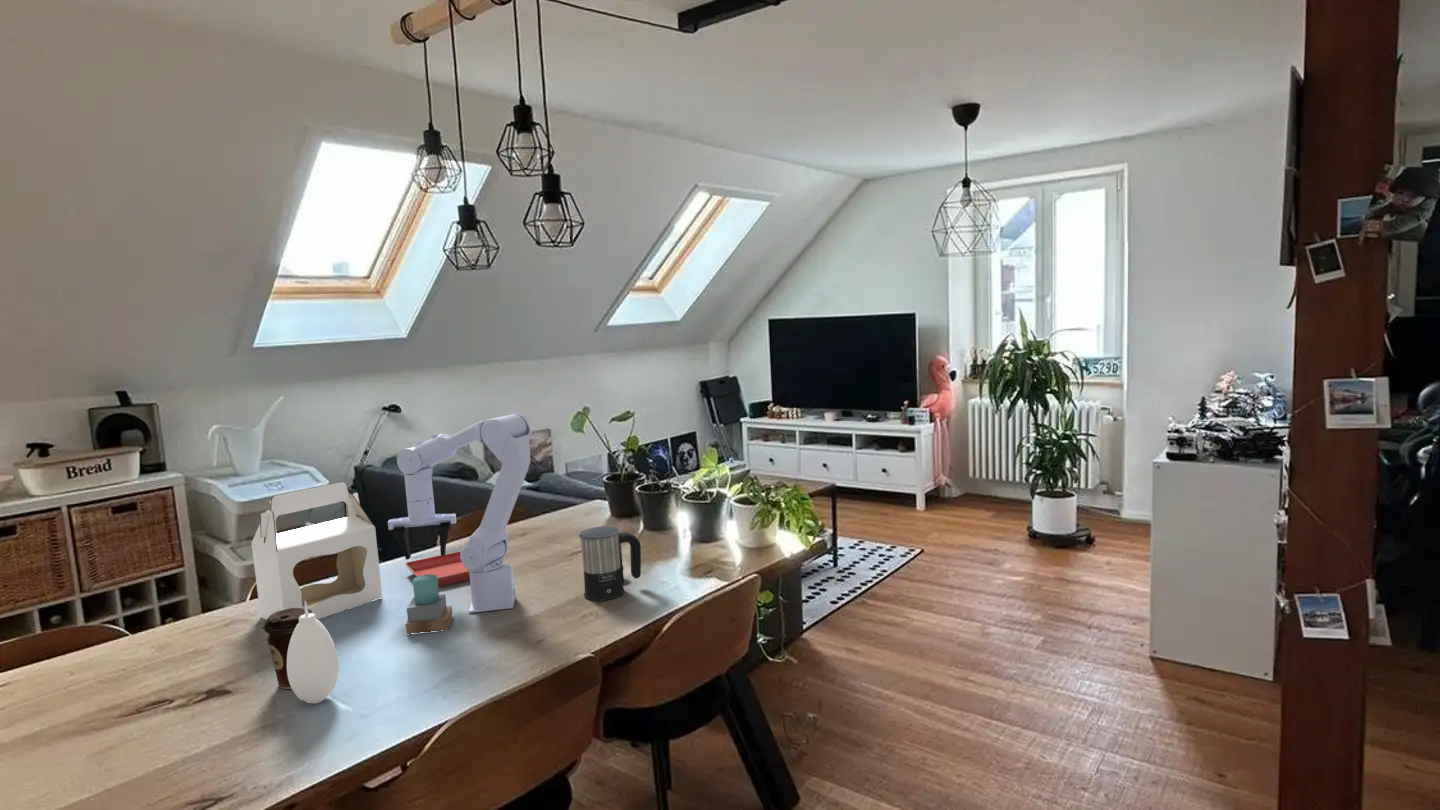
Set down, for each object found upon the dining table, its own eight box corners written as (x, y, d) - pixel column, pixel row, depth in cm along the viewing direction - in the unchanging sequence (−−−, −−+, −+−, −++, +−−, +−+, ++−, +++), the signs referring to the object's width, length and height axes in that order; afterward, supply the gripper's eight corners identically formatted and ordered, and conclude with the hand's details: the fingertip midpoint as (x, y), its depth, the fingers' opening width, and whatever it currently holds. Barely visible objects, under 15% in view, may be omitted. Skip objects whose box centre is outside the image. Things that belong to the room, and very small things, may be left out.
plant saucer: (497, 576, 199) (496, 563, 199) (423, 594, 189) (421, 580, 189) (475, 560, 214) (474, 548, 214) (405, 575, 204) (404, 562, 204)
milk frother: (597, 605, 175) (592, 539, 173) (561, 588, 187) (556, 527, 185) (649, 588, 184) (645, 525, 183) (611, 573, 196) (608, 514, 194)
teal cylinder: (443, 596, 169) (440, 574, 169) (433, 605, 165) (430, 582, 164) (421, 597, 170) (419, 574, 169) (410, 605, 165) (408, 582, 165)
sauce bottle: (289, 716, 132) (276, 612, 129) (293, 696, 139) (281, 597, 136) (341, 705, 135) (329, 603, 132) (342, 686, 142) (331, 589, 140)
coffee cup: (268, 697, 139) (259, 626, 137) (270, 679, 146) (262, 611, 144) (324, 684, 143) (316, 615, 141) (323, 667, 150) (315, 601, 148)
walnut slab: (452, 618, 173) (451, 605, 172) (447, 633, 165) (446, 619, 165) (414, 623, 171) (412, 609, 171) (407, 637, 164) (405, 623, 163)
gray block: (446, 607, 171) (445, 594, 171) (440, 618, 165) (439, 605, 165) (415, 610, 170) (413, 597, 170) (408, 622, 164) (406, 608, 164)
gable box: (356, 588, 195) (343, 476, 192) (384, 598, 187) (371, 481, 183) (259, 618, 178) (243, 496, 174) (285, 630, 170) (269, 502, 166)
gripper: (455, 491, 186) (461, 548, 187) (390, 497, 183) (396, 554, 185) (451, 498, 179) (456, 557, 181) (383, 504, 176) (389, 563, 178)
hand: (425, 556), depth 182 cm, fingers open, 7 cm apart
